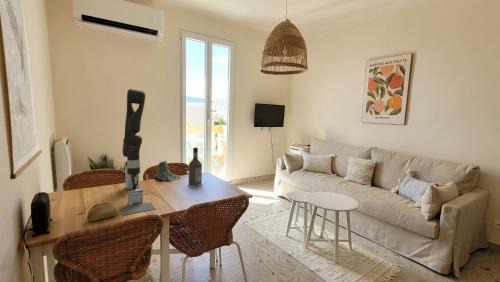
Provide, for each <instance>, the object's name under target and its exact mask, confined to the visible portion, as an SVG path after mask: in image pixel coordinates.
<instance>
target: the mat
mask: <svg viewBox="0 0 500 282" xmlns="http://www.w3.org/2000/svg"><path fill="white" fill-rule="evenodd" d="M119 209H120V211H121V214H122V216H127V215H131V214H137V213H143V212H147V211H154V209H155V210H156V209H157V208H156V207H155V205H154V204H153V203H152V201H150V202H145V203H140V204H136V205H133V206H131V205H127V206H120V207H119Z"/></svg>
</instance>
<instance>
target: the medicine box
mask: <svg viewBox="0 0 500 282" xmlns="http://www.w3.org/2000/svg"><path fill="white" fill-rule="evenodd" d="M143 202H144V189H142V188H137V189H135V190H132V189H130V190H128V191H127V204H128V206H133V205H138V204H143Z"/></svg>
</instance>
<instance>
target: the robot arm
mask: <svg viewBox="0 0 500 282" xmlns="http://www.w3.org/2000/svg"><path fill="white" fill-rule="evenodd" d="M145 103H146V92H145V91H143V90H137V89H132V88H130V89H128V90H127V94H126V115H125V120H124V121H125V122H124V124H125V125H124V137H123V140H122V142H123V145H122V155H123V157H124V158H126V159H127V160H126V161H125V162H124V165H125V166H124V171H125V189H126V190H135V189H140V173H141V161H140V160H141V159H140V151H141V150H140V149H141V147H142V143H143V138H142V136H141V135H138V134H139V133H140V131H141V123H142V116H143V114H144V113H143V112H144V108H145ZM133 104H136V105H138V107H137V108H136V110H134V107H133Z"/></svg>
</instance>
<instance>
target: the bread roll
mask: <svg viewBox="0 0 500 282" xmlns="http://www.w3.org/2000/svg"><path fill="white" fill-rule="evenodd" d="M117 214H118V209H117V207H116V206H115V205H114V204H112V203H111V202H100V203H97V204H95V205H93V206H92V207H91V208H90V209H89V211H88V213H87V216H86V220H87V221H88V222H94V221H99V220H102V219H107V218H113V217H115V216H116V215H117Z"/></svg>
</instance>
